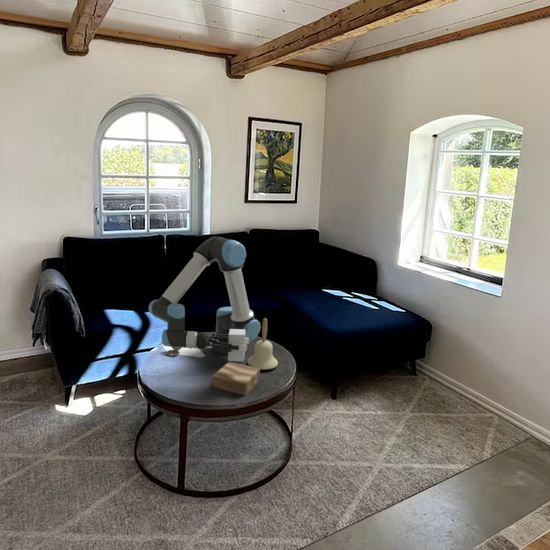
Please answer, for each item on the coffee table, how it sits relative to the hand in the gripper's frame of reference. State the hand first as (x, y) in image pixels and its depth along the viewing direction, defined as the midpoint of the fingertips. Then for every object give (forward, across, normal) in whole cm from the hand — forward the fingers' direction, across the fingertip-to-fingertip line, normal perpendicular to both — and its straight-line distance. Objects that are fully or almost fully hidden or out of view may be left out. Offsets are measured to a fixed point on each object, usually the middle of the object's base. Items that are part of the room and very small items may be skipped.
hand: (247, 344), depth 220 cm
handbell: (+6, -22, -20) cm, 31 cm away
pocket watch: (-40, -28, -20) cm, 53 cm away
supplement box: (-5, 0, -7) cm, 9 cm away
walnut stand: (-4, 0, -20) cm, 20 cm away
